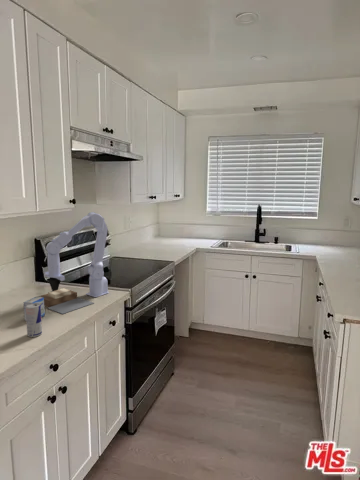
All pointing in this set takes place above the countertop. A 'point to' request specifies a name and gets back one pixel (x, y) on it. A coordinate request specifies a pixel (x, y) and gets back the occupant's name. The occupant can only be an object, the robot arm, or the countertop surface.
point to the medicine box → (35, 300)
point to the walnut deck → (58, 299)
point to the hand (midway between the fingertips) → (55, 291)
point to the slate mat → (70, 305)
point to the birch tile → (59, 293)
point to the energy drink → (33, 320)
